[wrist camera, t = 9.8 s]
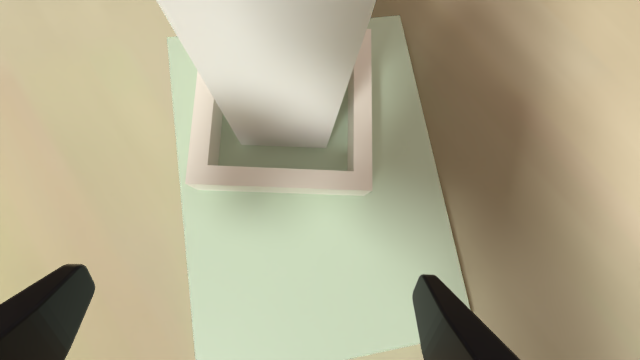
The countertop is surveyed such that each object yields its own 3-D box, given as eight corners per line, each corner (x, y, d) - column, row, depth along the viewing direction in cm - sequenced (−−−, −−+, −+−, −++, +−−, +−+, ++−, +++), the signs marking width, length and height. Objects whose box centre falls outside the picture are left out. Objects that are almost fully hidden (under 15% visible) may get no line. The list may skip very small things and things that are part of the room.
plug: (326, 148, 18) (397, -64, 5) (241, 144, 18) (103, -91, 5) (327, 74, 19) (390, -257, 6) (246, 70, 19) (139, -291, 6)
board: (465, 326, 18) (475, 331, 17) (204, 382, 16) (198, 392, 15) (394, 25, 21) (399, 15, 20) (173, 47, 20) (166, 37, 19)
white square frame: (364, 195, 18) (372, 190, 16) (197, 189, 17) (185, 183, 15) (363, 49, 20) (371, 29, 18) (212, 39, 19) (203, 16, 17)
